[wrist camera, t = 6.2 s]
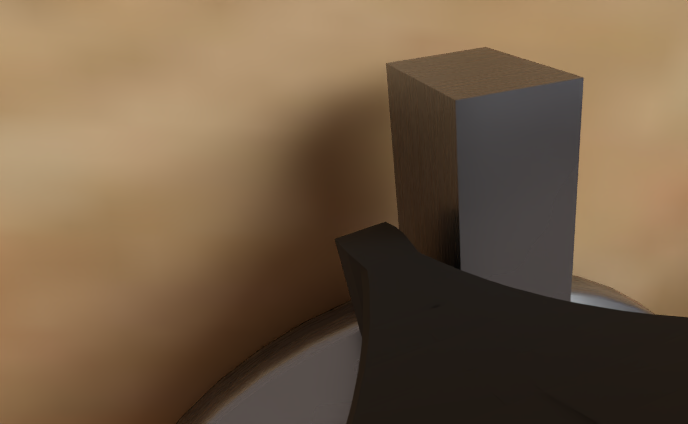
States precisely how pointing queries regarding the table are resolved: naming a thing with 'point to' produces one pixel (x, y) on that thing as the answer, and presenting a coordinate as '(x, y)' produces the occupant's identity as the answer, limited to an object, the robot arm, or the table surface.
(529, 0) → the table surface
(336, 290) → the table surface
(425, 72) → the gear with bar handle
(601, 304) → the grey round disc
